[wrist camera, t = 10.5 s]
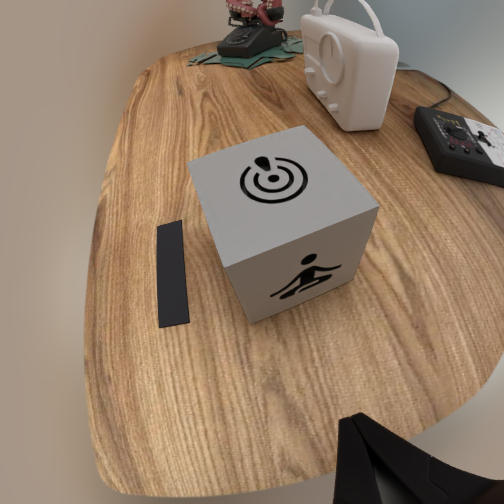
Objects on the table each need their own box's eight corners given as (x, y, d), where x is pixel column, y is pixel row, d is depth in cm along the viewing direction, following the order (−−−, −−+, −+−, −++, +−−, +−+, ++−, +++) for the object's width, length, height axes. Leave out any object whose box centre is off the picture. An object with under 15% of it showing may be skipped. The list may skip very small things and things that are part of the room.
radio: (296, 84, 46) (284, -31, 25) (334, 81, 46) (331, -29, 25) (339, 143, 34) (340, -36, 13) (389, 139, 34) (407, -23, 13)
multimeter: (411, 122, 36) (416, 97, 32) (493, 143, 33) (502, 123, 28) (434, 173, 30) (445, 144, 25) (523, 194, 26) (536, 173, 22)
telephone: (249, 35, 77) (242, -11, 60) (330, 43, 64) (328, -12, 47) (177, 67, 64) (160, 9, 47) (268, 73, 51) (257, -8, 34)
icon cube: (216, 237, 28) (186, 162, 20) (304, 203, 29) (303, 124, 21) (250, 324, 23) (224, 267, 15) (352, 279, 24) (379, 205, 15)
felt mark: (189, 322, 24) (189, 321, 24) (159, 328, 24) (158, 327, 24) (181, 220, 30) (181, 219, 30) (157, 227, 30) (156, 226, 30)
